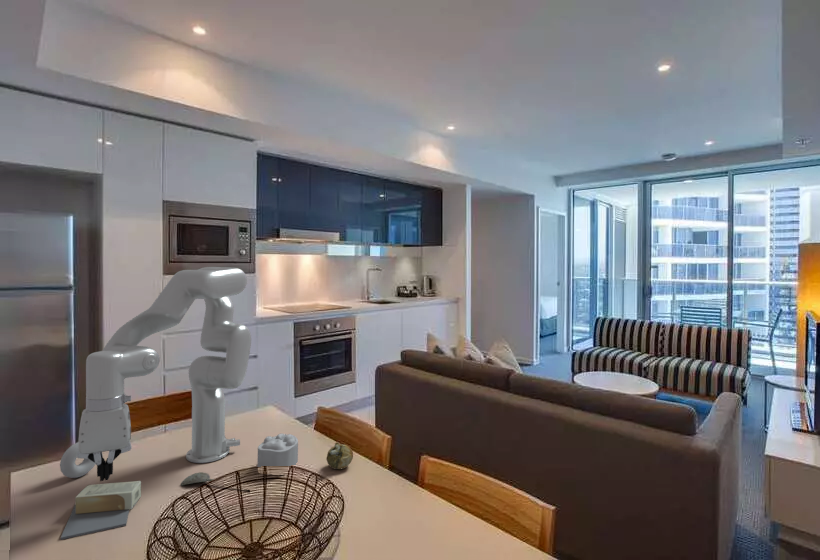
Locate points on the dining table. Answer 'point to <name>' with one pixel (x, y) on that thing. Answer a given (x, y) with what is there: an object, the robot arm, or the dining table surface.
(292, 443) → the lumpy-topped squat cylinder
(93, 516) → the mat
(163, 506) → the dining table surface
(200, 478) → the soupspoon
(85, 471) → the donut
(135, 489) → the skincare box
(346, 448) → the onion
